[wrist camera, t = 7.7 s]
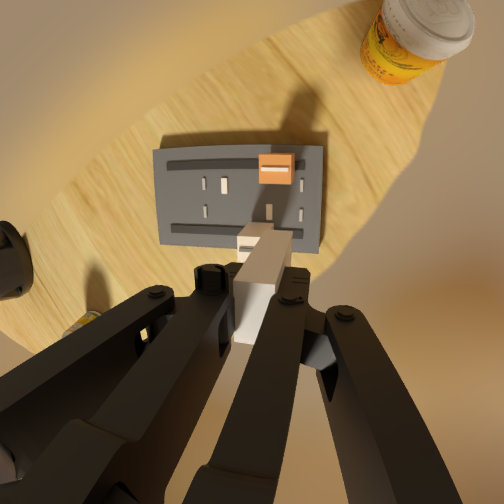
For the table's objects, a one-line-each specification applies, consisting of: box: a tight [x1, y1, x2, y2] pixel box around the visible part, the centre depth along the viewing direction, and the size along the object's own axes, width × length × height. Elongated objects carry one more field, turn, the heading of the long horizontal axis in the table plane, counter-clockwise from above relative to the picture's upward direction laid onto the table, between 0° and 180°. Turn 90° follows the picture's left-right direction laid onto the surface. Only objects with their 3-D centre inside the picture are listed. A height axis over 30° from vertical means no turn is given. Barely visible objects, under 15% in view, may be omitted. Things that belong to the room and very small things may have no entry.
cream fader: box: [237, 222, 274, 262], centre depth 29 cm, size 3×2×5 cm
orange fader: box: [259, 153, 295, 184], centre depth 26 cm, size 3×2×5 cm
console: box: [153, 144, 323, 254], centre depth 31 cm, size 18×11×2 cm, turn 91°
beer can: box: [360, 0, 475, 86], centre depth 17 cm, size 6×6×15 cm
